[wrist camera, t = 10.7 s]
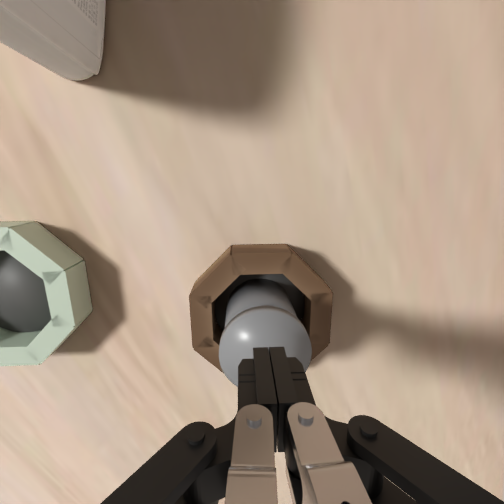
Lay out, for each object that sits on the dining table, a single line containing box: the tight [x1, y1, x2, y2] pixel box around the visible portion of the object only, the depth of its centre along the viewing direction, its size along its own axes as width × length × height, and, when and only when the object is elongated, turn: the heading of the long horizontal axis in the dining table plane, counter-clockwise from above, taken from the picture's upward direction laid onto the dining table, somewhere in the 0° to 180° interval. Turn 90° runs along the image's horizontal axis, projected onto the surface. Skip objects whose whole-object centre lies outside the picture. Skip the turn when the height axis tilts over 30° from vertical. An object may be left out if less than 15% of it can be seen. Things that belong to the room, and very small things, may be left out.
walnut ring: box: [189, 244, 333, 373], centre depth 22 cm, size 10×10×2 cm
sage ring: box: [0, 221, 93, 366], centre depth 21 cm, size 10×10×2 cm
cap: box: [219, 278, 312, 387], centre depth 20 cm, size 5×5×6 cm
